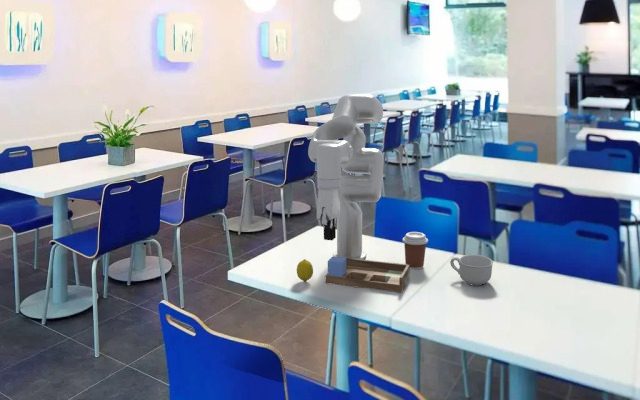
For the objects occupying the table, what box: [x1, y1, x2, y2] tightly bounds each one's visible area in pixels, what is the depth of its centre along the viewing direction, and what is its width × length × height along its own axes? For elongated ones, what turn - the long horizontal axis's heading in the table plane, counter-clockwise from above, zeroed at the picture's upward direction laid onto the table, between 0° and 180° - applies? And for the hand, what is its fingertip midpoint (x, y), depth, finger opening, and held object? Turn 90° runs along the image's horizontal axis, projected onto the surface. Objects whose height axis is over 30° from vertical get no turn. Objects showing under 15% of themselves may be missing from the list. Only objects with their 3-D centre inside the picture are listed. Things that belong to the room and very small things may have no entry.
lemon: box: [296, 259, 314, 283], centre depth 191 cm, size 6×6×8 cm
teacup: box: [449, 254, 494, 286], centre depth 190 cm, size 14×11×8 cm
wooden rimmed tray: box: [324, 257, 411, 293], centre depth 191 cm, size 13×26×5 cm, turn 70°
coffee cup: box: [402, 231, 429, 270], centre depth 204 cm, size 9×9×12 cm
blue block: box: [327, 256, 346, 277], centre depth 191 cm, size 5×5×5 cm
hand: (329, 238), depth 182 cm, fingers closed
